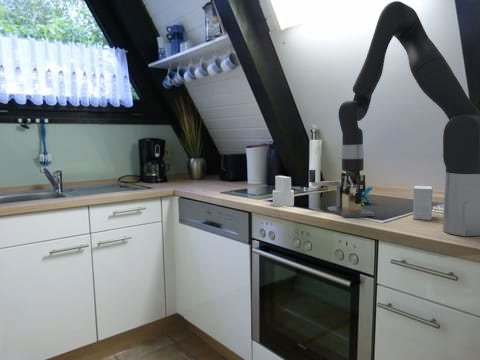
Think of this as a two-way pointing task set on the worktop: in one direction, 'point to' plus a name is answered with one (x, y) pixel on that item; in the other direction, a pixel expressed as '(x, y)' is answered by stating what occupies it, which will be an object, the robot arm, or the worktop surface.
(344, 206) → the housing
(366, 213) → the press
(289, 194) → the base with upright slab
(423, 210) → the small box
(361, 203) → the blue plastic figure
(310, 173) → the lever
